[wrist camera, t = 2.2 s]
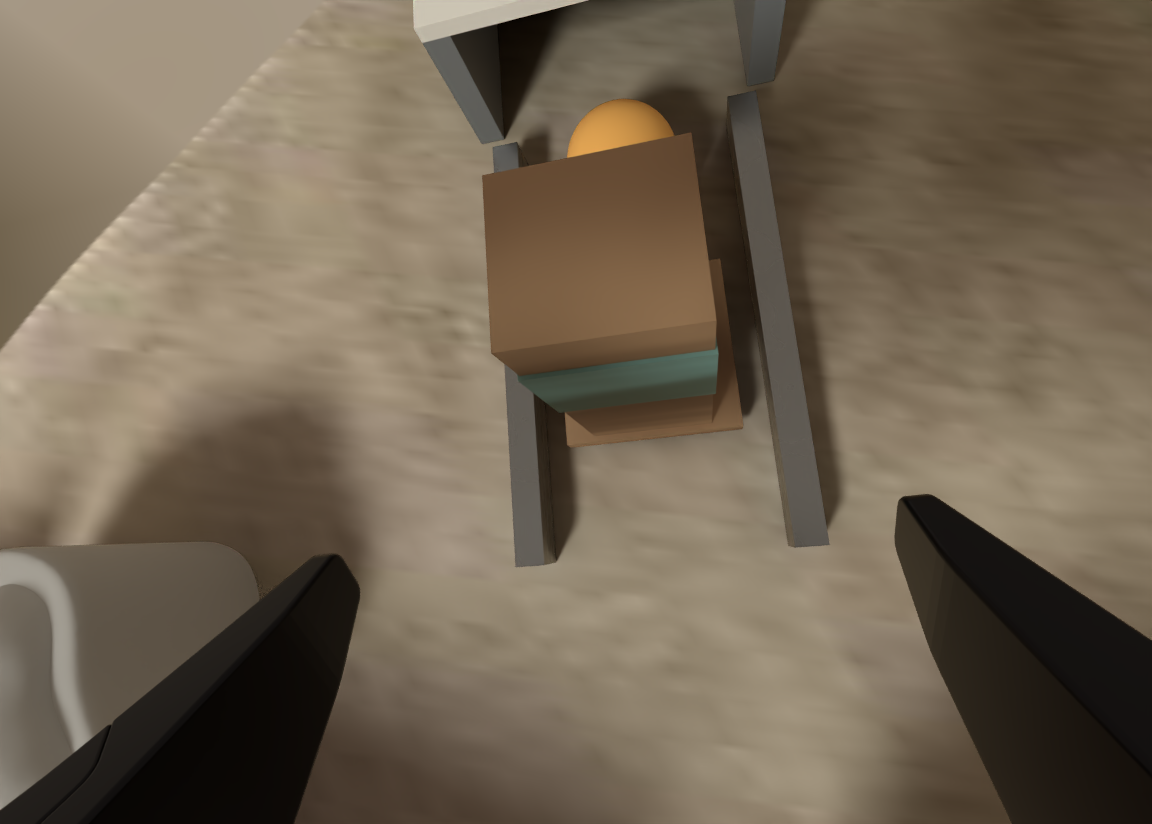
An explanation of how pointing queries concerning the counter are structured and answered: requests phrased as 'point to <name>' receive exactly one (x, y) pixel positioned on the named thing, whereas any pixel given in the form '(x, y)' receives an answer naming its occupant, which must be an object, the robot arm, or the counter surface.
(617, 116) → the ball
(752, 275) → the rails
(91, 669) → the lumpy-topped squat cylinder
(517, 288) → the teal-banded wooden block
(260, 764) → the robot arm
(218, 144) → the counter surface
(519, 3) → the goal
